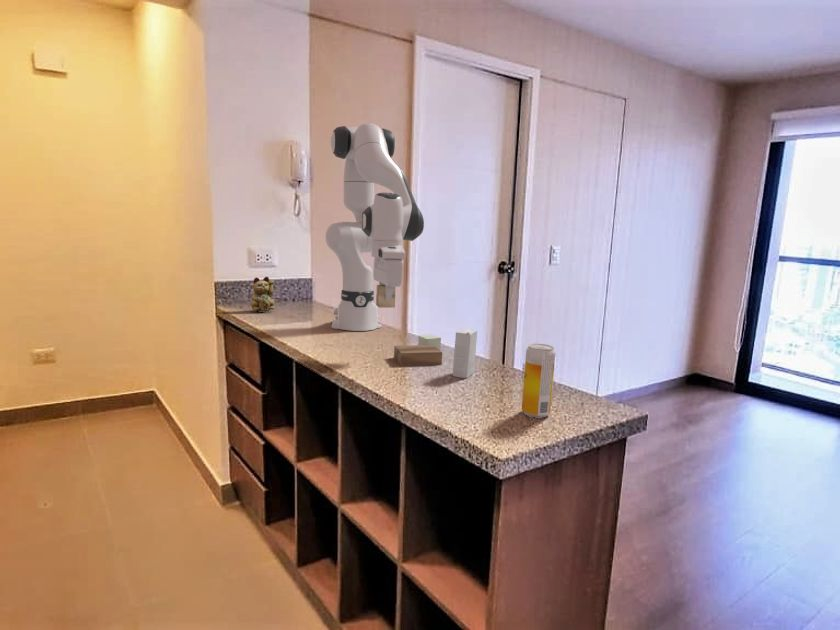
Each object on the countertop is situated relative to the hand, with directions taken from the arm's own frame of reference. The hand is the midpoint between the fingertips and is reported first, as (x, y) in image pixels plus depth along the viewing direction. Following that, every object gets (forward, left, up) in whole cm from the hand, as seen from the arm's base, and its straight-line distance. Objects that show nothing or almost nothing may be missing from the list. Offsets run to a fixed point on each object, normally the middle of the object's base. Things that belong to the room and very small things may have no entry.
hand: (385, 299), depth 155 cm
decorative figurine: (-84, -32, -18) cm, 91 cm away
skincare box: (+20, +17, -18) cm, 32 cm away
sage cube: (-6, +16, -18) cm, 24 cm away
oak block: (0, 0, -2) cm, 2 cm away
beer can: (+51, +21, -18) cm, 58 cm away
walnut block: (+4, +9, -18) cm, 21 cm away
